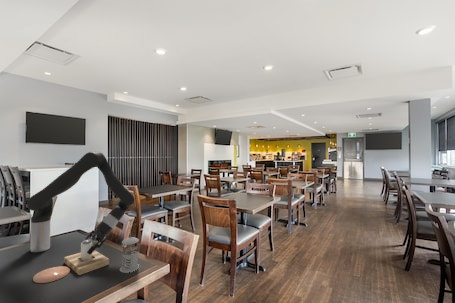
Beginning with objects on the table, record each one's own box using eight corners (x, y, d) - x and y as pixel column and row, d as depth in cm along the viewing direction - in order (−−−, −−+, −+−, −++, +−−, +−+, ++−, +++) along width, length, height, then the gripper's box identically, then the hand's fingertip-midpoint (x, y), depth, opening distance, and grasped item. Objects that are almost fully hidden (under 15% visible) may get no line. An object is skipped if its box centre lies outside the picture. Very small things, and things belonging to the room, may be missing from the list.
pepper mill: (79, 264, 123) (79, 241, 123) (89, 260, 127) (90, 238, 128) (83, 267, 120) (83, 243, 120) (93, 263, 124) (94, 240, 124)
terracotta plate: (29, 276, 111) (29, 274, 111) (64, 265, 122) (64, 263, 122) (37, 286, 102) (37, 284, 102) (74, 274, 113) (74, 272, 113)
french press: (127, 274, 113) (128, 222, 113) (113, 268, 119) (113, 218, 119) (144, 266, 121) (144, 217, 121) (130, 260, 127) (130, 214, 128)
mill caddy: (64, 262, 125) (64, 257, 125) (92, 254, 136) (92, 248, 136) (79, 275, 112) (79, 268, 112) (108, 264, 123) (109, 258, 123)
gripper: (97, 218, 135) (74, 244, 126) (108, 223, 126) (85, 251, 117) (106, 225, 139) (85, 251, 130) (118, 230, 130) (96, 258, 121)
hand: (85, 251), depth 123 cm, fingers open, 8 cm apart
